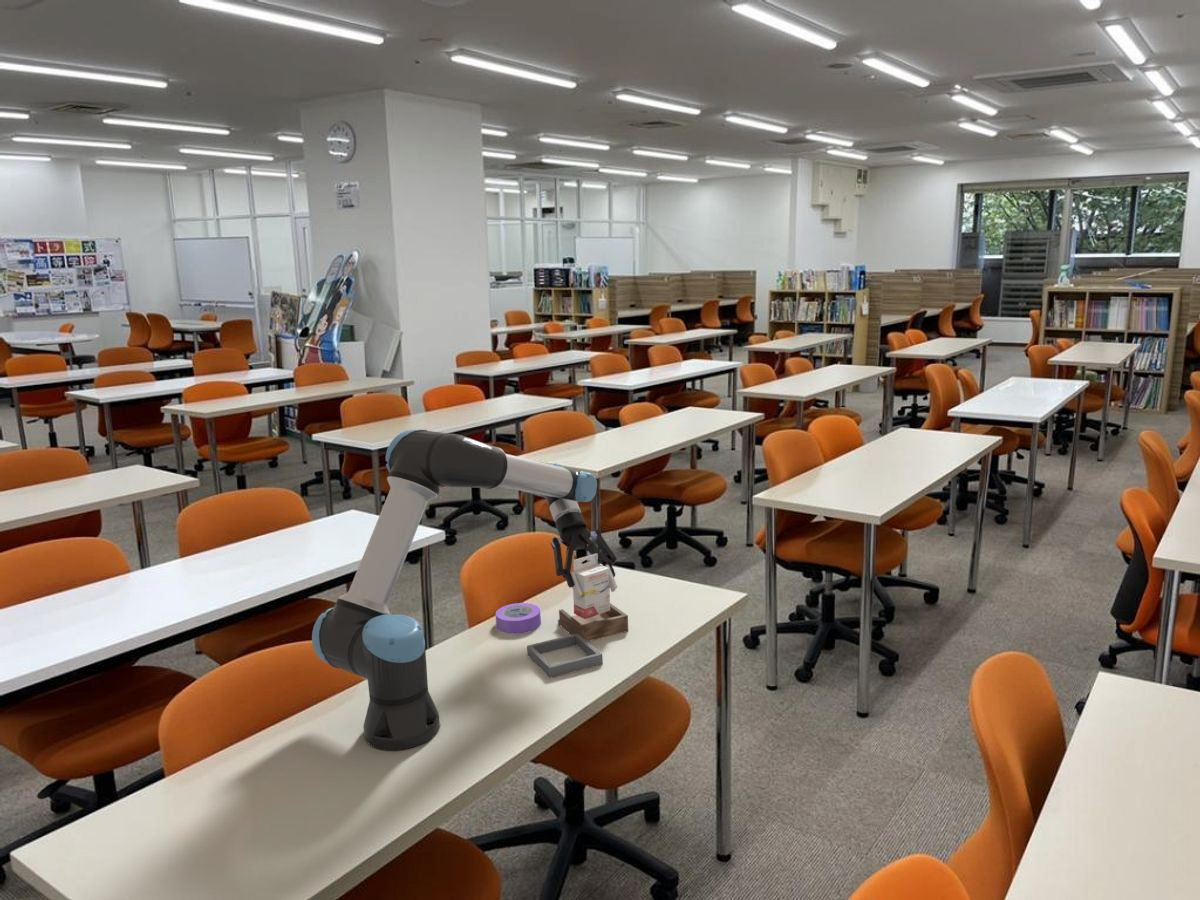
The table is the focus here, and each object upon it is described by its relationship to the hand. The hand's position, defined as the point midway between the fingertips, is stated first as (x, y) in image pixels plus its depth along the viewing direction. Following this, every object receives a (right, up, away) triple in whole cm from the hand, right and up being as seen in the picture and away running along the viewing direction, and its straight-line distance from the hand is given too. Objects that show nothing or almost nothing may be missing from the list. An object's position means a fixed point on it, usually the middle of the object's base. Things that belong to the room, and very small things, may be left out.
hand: (597, 593), depth 218 cm
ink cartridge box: (-1, -6, +4) cm, 7 cm away
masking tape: (-21, -10, +9) cm, 24 cm away
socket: (-8, -14, -13) cm, 20 cm away
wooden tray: (-1, -10, +5) cm, 11 cm away
